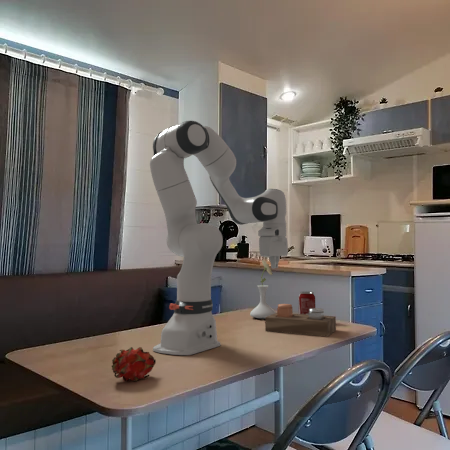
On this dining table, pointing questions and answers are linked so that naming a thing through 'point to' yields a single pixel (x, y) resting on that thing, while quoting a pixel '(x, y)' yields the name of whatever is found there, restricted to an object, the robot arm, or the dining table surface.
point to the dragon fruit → (133, 364)
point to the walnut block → (301, 325)
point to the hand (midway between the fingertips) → (274, 268)
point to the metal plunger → (316, 313)
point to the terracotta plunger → (284, 310)
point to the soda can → (306, 302)
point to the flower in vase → (263, 298)
